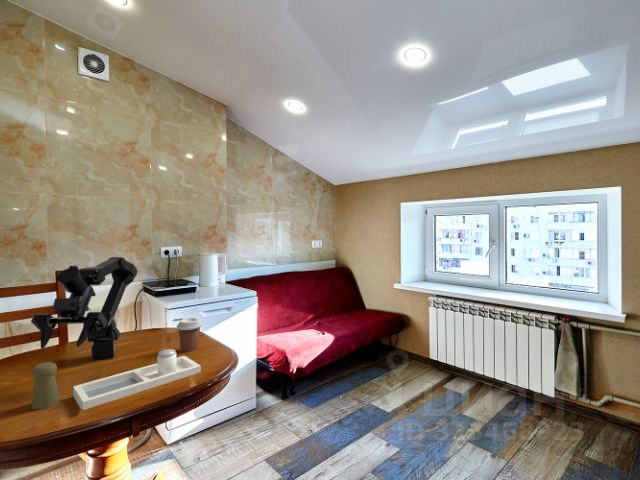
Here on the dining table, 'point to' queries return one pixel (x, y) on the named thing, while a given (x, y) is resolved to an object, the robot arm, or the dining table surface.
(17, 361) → the dining table surface
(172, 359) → the salt shaker
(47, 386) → the olive pepper shaker
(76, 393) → the condiment rail
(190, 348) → the coffee cup
